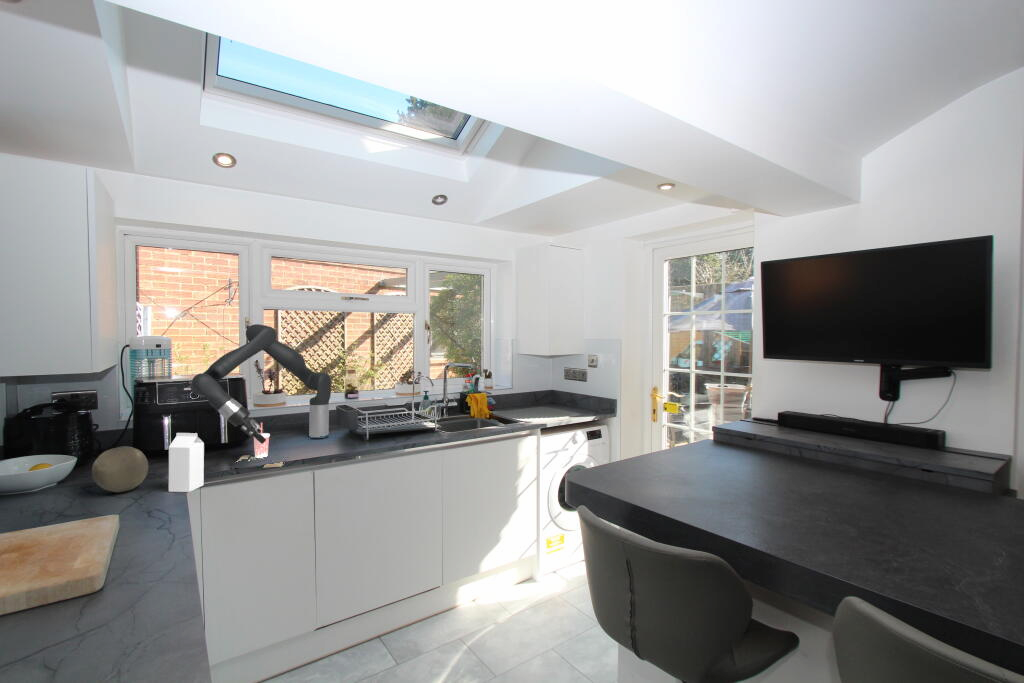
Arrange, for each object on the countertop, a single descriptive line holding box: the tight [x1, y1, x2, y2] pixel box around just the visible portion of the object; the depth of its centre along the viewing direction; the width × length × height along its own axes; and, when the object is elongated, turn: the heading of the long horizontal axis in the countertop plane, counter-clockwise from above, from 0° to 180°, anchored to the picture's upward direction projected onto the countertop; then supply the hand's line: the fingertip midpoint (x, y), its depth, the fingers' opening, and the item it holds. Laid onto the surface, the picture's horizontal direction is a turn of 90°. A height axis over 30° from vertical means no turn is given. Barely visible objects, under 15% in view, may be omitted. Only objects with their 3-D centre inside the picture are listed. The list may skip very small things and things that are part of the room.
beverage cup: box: [253, 422, 271, 458], centre depth 196 cm, size 6×6×14 cm
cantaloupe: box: [91, 445, 149, 493], centre depth 156 cm, size 14×14×15 cm
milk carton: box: [168, 432, 205, 493], centre depth 161 cm, size 7×7×19 cm
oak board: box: [236, 454, 284, 468], centre depth 196 cm, size 18×18×1 cm
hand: (266, 440), depth 196 cm, fingers closed on beverage cup, 6 cm apart
